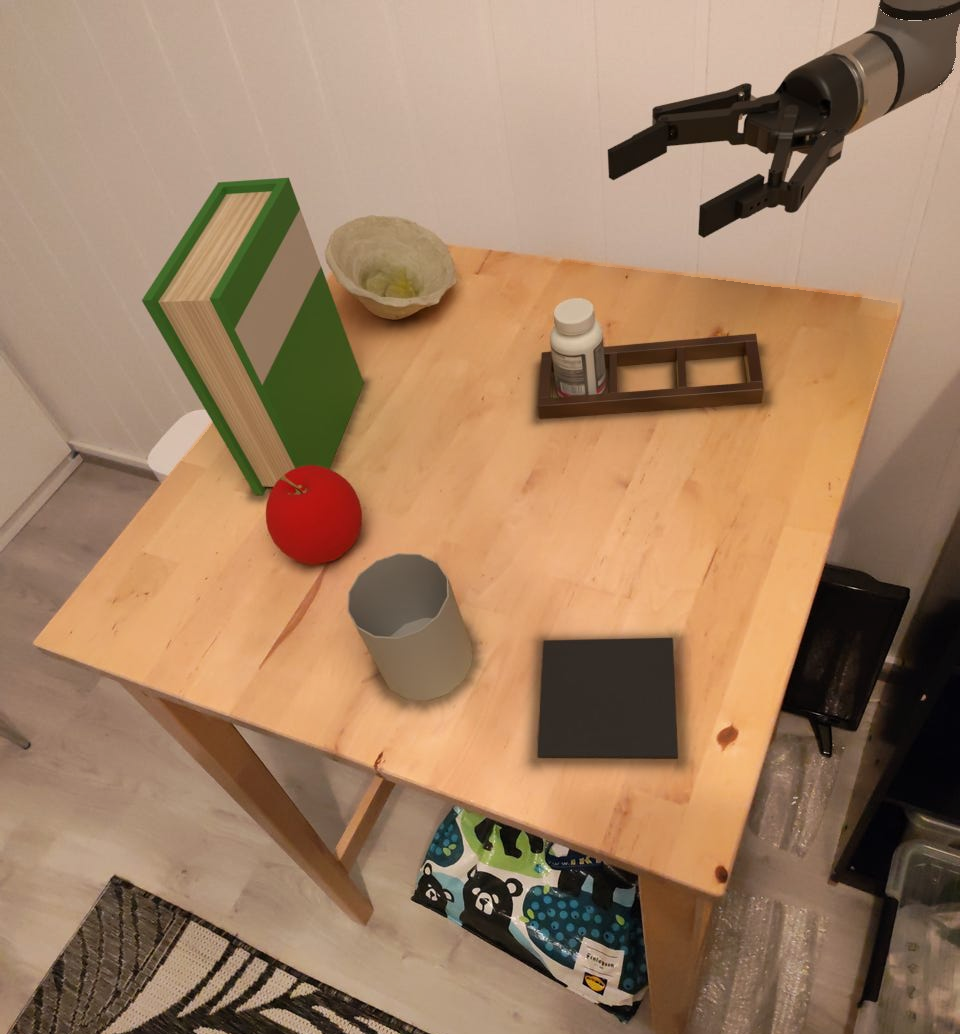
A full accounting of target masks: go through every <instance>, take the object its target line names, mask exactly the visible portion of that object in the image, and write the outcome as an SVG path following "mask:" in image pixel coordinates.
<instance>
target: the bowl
mask: <svg viewBox="0 0 960 1034" xmlns="http://www.w3.org/2000/svg"><path fill="white" fill-rule="evenodd" d="M324 257H325V261H326V264H327V266H328V268H329V269H330V271H331V272H332V273H333V276H334V278H335V279H336V281H337V282H338V284H340V285H341V286H342V287H343V288H344V289H345V290H346V291H347V292H348V293H350V294H352V296H353V297H354V298H356V299H357V300H358V301H359V302H360V303H361V304H362V305H363V307H365V308H366V309H367V310H368V311H369V312H370V313H372V314H373V315H375V316H377V317H379V318H382V319H387V320H396V321H397V320H401V319H405V318H407V317H410V316H412V315H414V314H415V313H417V312H419V311H420V310H422V309H425V308H426V307H427V308H428V307H431V306H433V305H437V304H439V302H440V300H441V299H442V297H443V296H444V295H445V293H446V292H447V291H448V290H449V289H450V288H452V287H454V286H455V285H456V283H457V281H458V279H457V273H456V266H455V262H454V260H453V257H452V253H451V250H450V248H449V246H448V245H447V244H446V243H445V242H444V241H443V240H442V239H441V238H440V237H439V236H438V235H437V234H436V233H435V232H434V231H432V230H430V229H429V228H426V227H424V226H422V225H420V224H418V223H417V222H415V221H412V220H409V219H408V218H403V217H400V216H390V215H389V216H384V215H373V214H372V215H368V216H362V217H357V218H354V219H352V220H350V221H347V222H346V223H343V224H342V225H341V226H339V227H337V228H336V229H335V230H334V231H333V232H332V233H331V235H330V236H329V239H328V242H327V244H326V247H325V250H324Z"/></svg>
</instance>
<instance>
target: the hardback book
mask: <svg viewBox="0 0 960 1034" xmlns="http://www.w3.org/2000/svg"><path fill="white" fill-rule="evenodd" d="M306 223H307V222H306V221H305V218H304V215H303V213H302V210H301V208H300V205H299V202H298V199H297V197H296V193H295V190H294V188H293V186H292V183H291V180H290V177H278V178H277V177H276V178H263V179H262V178H261V179H247V180H233V181H218V182H217V183H216V185H215V187H214V188H213V190H212V191H211V193H210V194H209V196H208V197H207V199H206V200H205V202H204V203H203V205H202V206H201V208H200V210H199V211H198V213H197V214H196V216H195V217H194V218H193V221H192V222H191V223H190V225H189V226H188V228H187V230H186V231H185V232H184V234H183V236H182V237H181V239H180V240H179V242H178V243H177V245H176V247H175V248H174V250H173V251H172V252H171V254H170V256H169V258H167V260H166V262H165V263H164V265H163V266H162V268H161V270H160V272H159V273H158V274H157V276H156V277H155V279H154V280H153V282H152V284H151V285H150V287H149V288H148V290H147V291H146V293H145V295H144V296H143V297H142V298H141V302H142V304H143V306H144V307H145V309H146V310H147V312H148V314H149V316H150V317H151V319H152V321H153V322H154V324H155V326H156V328H157V329H158V331H159V333H160V334H161V336H162V338H163V340H164V342H165V343H166V345H167V347H168V348H169V350H170V351H171V353H172V355H173V357H174V358H175V361H176V362H177V363H178V365H179V367H180V369H181V370H182V372H183V374H184V375H185V377H186V379H187V381H188V382H189V384H190V386H191V388H192V390H193V391H194V393H195V394H196V396H197V398H198V399H199V402H200V403H201V405H202V406H203V408H204V410H205V412H206V414H207V415H208V417H209V419H210V420H211V423H213V425H214V427H215V429H216V431H217V432H218V434H219V436H220V437H221V439H222V441H223V443H224V444H225V446H226V447H227V449H228V451H229V453H230V454H231V456H232V458H233V460H234V462H235V463H236V465H237V466H238V469H239V470H240V471H241V473H242V475H243V477H244V478H245V480H246V482H247V484H248V485H249V488H250V489H251V490H252V492H253V494H254V495H255V496H263V495H264V493H265V491H266V489H267V487H271V488H273V487H274V485H275V484H276V482H277V481H278V480H279V479H280V478H281V476H282V475H284V474H286V473H287V472H289V471H290V470H293V469H295V468H298V467H300V466H307V465H316V466H321V467H325V468H327V469H330V468H331V466H332V463H333V460H334V458H335V456H336V454H337V451H338V448H339V446H340V444H341V441H342V438H343V436H344V434H345V432H346V429H347V426H348V424H349V421H350V419H351V416H352V414H353V412H354V409H355V406H356V404H357V402H358V400H359V396H360V394H361V392H362V390H363V387H364V384H365V381H364V379H363V377H362V374H361V371H360V369H359V365H358V363H357V361H356V358H355V355H354V352H353V349H352V346H351V343H350V341H349V338H348V335H347V332H346V330H345V327H344V324H343V322H342V319H341V315H340V314H339V311H338V308H337V306H336V303H335V301H334V300H335V299H334V297H333V295H332V292H331V289H330V286H329V283H328V281H327V278H326V275H325V273H324V270H323V267H322V264H321V261H320V259H319V256H318V253H317V251H316V248H315V246H314V242H313V240H312V237H311V234H310V231H309V229H308V226H307V224H306Z"/></svg>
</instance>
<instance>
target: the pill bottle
mask: <svg viewBox="0 0 960 1034" xmlns="http://www.w3.org/2000/svg"><path fill="white" fill-rule="evenodd" d="M553 323H554V326H553V328H552V329H551V331H550V335H549V344H550V351H551V353H552V360H553V368H554V372H553V376H554V382H555V388H556V393H557V395H558V397H567V396H580V395H593V394H604V391H605V389H606V386H607V374H606V372H607V371H606V367H605V359H604V347H605V346H604V332H603V328H602V326H601V324H600V322H599V321H598V320H597V319H596V315H595V308H594V305H593V303H592V302H591V301H590V300H588V299H585V298H583V297H572V298H567V299H565V300H563V301H560V302H559V303H558V304H557V305H556V307H555V308H554V310H553Z"/></svg>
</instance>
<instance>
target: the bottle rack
mask: <svg viewBox="0 0 960 1034" xmlns="http://www.w3.org/2000/svg"><path fill="white" fill-rule="evenodd" d="M741 356H743V359H744V368H745V369H744V370H745V376H746V382H738V383H725V384H711V385H699V386H697V385H696V386H687V369H686V361H694V360H707V359H717V358H718V359H719V358H729V357H730V358H731V357H741ZM760 358H761V357H760V351H759V344H758V337H757V333H743V334H734V335H733V334H732V335H722V336H721V335H720V336H711V337H700V338H688V339H677V340H666V341H653V342H643V343H641V342H640V343H631V344H620V345H610V346H609V345H608V346H607V345H606V346H604V359H605V368H609V372H608V373H609V374H608V377H609V381H608V382H609V383H608V391H609V392H607V393H602V394H593V395H580V396H567V397H560V396H556V397H554V396H553V387H554V386H553V385H554V368H553V360H552V353H551V350H550V351H541V354H540V369H539V382H538V383H539V384H538V397H537V410H538V417H539V419H540V420H544V419H557V418H558V419H559V418H570V417H571V418H572V417H584V416H585V417H586V416H599V415H600V416H601V415H612V414H613V415H615V414H627V413H628V414H629V413H642V412H655V411H656V412H657V411H669V410H681V409H695V408H698V409H699V408H710V407H711V408H712V407H724V406H739V405H753V404H762V403H763V399H764V391H765V387H764V379H763V372H762V366H761V359H760ZM670 362H675V365H676V381H677V382H676V383H677V385H676V387H673V388H671V387H670V388H659V389H647V390H633V391H620V392H619V388H618V387H619V376H618V373H619V372H618V371H619V370H618V368H619V367H622V366H634V365H647V364H660V363H670Z"/></svg>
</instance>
